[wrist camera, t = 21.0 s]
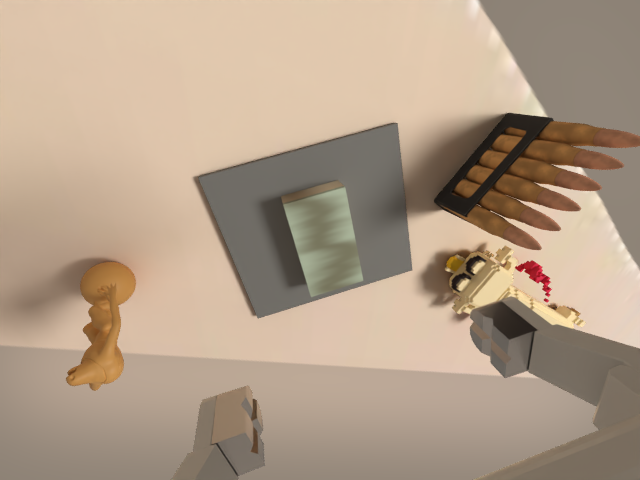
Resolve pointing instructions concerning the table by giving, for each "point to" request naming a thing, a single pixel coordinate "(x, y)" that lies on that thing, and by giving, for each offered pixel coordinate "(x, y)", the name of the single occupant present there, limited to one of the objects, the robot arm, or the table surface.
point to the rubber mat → (272, 224)
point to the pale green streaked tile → (324, 236)
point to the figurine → (103, 323)
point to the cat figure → (501, 285)
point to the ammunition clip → (528, 173)
